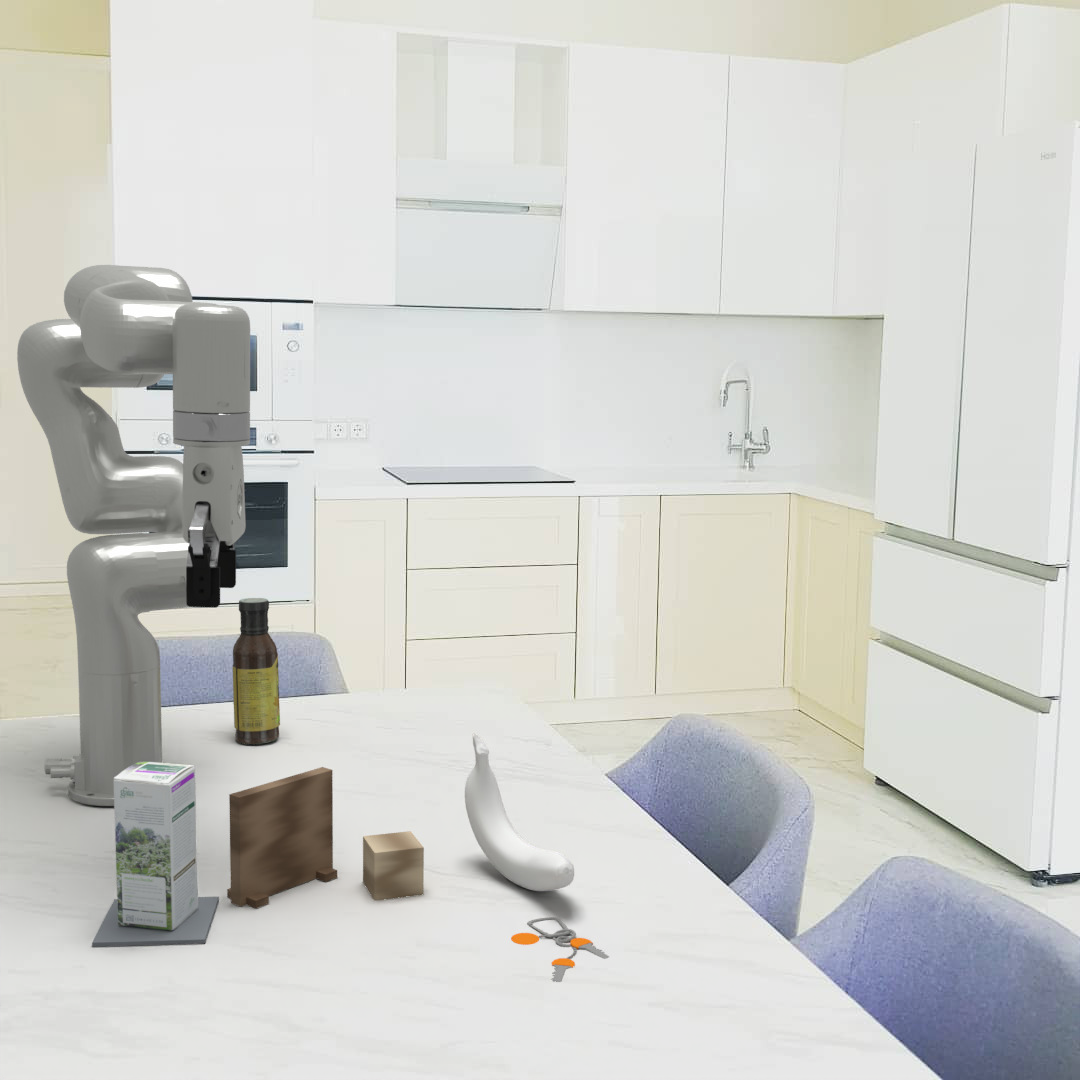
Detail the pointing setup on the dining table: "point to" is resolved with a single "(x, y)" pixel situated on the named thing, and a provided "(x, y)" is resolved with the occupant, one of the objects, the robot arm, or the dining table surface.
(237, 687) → the sauce bottle
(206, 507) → the robot arm
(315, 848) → the screen
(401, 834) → the oak cube
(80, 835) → the dining table surface
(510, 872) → the banana
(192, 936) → the mat
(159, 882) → the syrup box
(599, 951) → the key chain
